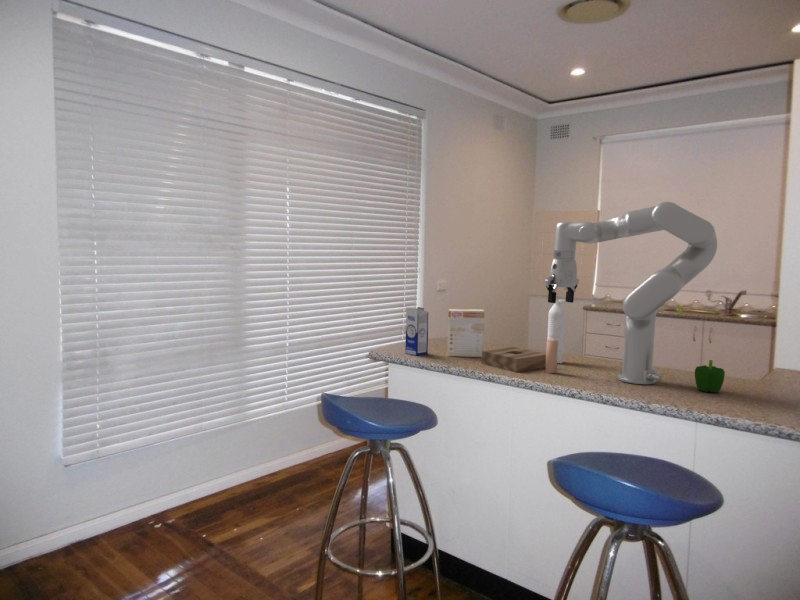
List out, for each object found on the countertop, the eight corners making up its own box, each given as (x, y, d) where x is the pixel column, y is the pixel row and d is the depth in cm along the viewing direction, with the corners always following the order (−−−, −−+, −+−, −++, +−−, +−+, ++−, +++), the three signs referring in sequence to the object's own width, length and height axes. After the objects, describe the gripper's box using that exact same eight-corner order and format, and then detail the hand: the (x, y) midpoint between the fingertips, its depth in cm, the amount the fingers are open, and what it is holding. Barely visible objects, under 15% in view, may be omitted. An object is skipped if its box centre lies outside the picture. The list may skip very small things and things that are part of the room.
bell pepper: (716, 396, 170) (718, 364, 169) (689, 390, 177) (691, 360, 176) (728, 392, 175) (730, 361, 174) (701, 386, 182) (703, 357, 181)
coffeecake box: (482, 354, 232) (484, 309, 230) (483, 357, 225) (484, 311, 223) (447, 353, 233) (448, 308, 232) (447, 356, 226) (448, 309, 224)
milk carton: (404, 353, 231) (405, 306, 229) (416, 351, 235) (417, 305, 233) (416, 356, 225) (417, 308, 224) (427, 354, 230) (429, 307, 228)
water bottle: (558, 364, 214) (561, 301, 211) (543, 362, 218) (546, 300, 216) (568, 361, 220) (571, 300, 218) (553, 359, 224) (556, 299, 222)
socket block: (548, 367, 208) (548, 354, 208) (516, 372, 198) (516, 358, 198) (513, 358, 223) (513, 347, 223) (481, 363, 213) (481, 350, 212)
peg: (558, 373, 198) (560, 340, 197) (551, 374, 196) (553, 341, 195) (550, 371, 202) (551, 339, 200) (543, 372, 199) (544, 340, 198)
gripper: (556, 256, 190) (552, 304, 192) (588, 257, 200) (584, 303, 202) (540, 255, 196) (536, 301, 198) (571, 256, 206) (567, 300, 208)
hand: (560, 302), depth 200 cm, fingers open, 9 cm apart
